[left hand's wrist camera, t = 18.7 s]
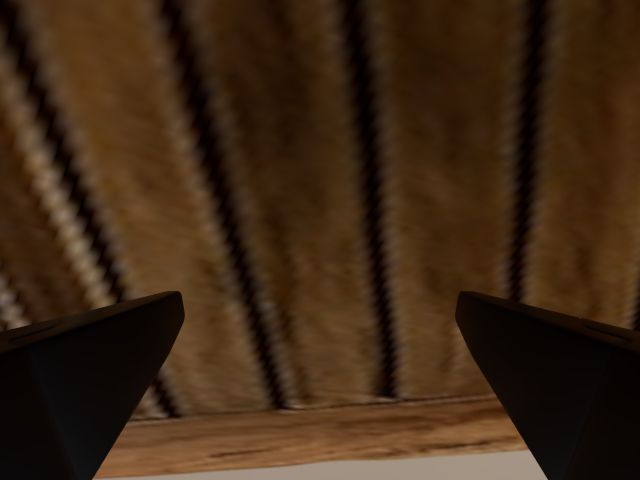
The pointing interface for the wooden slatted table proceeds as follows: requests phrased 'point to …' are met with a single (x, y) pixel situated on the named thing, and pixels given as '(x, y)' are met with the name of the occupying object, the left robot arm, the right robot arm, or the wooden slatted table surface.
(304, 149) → the wooden slatted table surface
